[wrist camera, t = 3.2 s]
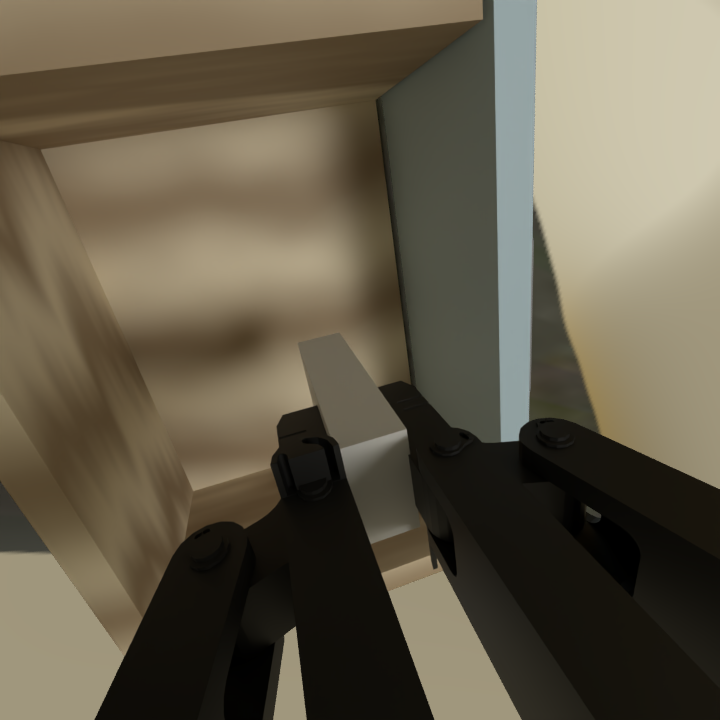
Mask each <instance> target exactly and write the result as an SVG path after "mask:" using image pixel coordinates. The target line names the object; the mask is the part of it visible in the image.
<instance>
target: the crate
mask: <svg viewBox="0 0 720 720" xmlns="http://www.w3.org/2000/svg"><path fill="white" fill-rule="evenodd" d="M481 20H483V0H0V481H1V483H2V484H3V485H4V487H5V488H6V490H7V491H8V493H9V494H10V495H11V497H12V498H13V500H14V501H15V502H16V504H17V505H18V507H19V508H20V510H21V511H22V512H23V514H24V515H25V517H26V518H27V519H28V521H29V522H30V524H31V525H32V526H33V528H34V529H35V531H36V532H37V534H38V535H39V536H40V538H41V539H42V541H43V542H44V543H45V545H46V546H47V548H48V549H49V550H50V552H51V553H52V555H53V556H54V558H55V559H56V560H57V562H58V563H59V565H60V566H61V567H62V569H63V570H64V571H65V573H66V574H67V576H68V577H69V579H70V580H71V581H72V583H73V584H74V586H75V587H76V589H77V590H78V591H79V593H80V594H81V596H82V597H83V599H84V600H85V601H86V603H87V604H88V606H89V607H90V608H91V610H92V611H93V613H94V614H95V615H96V617H97V618H98V620H99V621H100V623H101V624H102V625H103V627H104V628H105V629H106V631H107V632H108V634H109V635H110V637H111V638H112V639H113V641H114V642H115V644H116V645H117V646H118V648H119V649H120V651H121V652H122V654H123V655H124V656H125V655H126V652H127V650H128V648H129V646H130V644H131V642H132V640H133V638H134V636H135V633H136V631H137V629H138V627H139V625H140V623H141V621H142V619H143V617H144V615H145V612H146V610H147V608H148V606H149V604H150V602H151V600H152V598H153V596H154V593H155V591H156V589H157V587H158V585H159V583H160V581H161V579H162V577H163V575H164V572H165V570H166V568H167V566H168V564H169V562H170V560H171V558H172V556H173V554H174V553H175V552H176V550H177V549H178V547H179V546H180V544H181V543H182V542H183V541H185V540H186V539H187V538H188V537H189V536H190V535H191V534H192V533H194V532H196V531H198V530H199V529H201V528H203V527H205V526H206V525H210V524H213V523H217V522H220V521H231V522H235V523H237V524H239V525H241V526H243V528H244V529H245V528H247V527H248V526H250V525H252V524H253V523H255V522H257V521H259V520H260V519H261V518H263V517H264V516H266V515H267V514H268V513H269V512H270V511H271V510H272V509H273V508H275V506H276V505H277V504H278V502H279V501H280V499H281V497H280V494H279V491H278V487H277V484H276V481H275V478H274V475H273V472H272V469H271V466H270V463H271V459H272V456H273V454H274V453H275V452H276V451H277V449H278V448H279V443H278V435H277V427H276V426H277V424H278V423H279V421H280V419H281V417H282V415H284V414H288V413H291V412H295V411H298V410H302V409H305V408H309V407H313V402H312V398H311V394H310V390H309V386H308V382H307V378H306V374H305V370H304V366H303V362H302V358H301V354H300V350H299V346H298V343H299V342H303V341H307V340H311V339H315V338H319V337H323V336H327V335H331V334H335V333H340V334H341V336H342V337H343V338H344V340H345V341H346V343H347V344H348V346H349V347H350V349H351V350H352V351H353V353H354V354H355V356H356V357H357V359H358V360H359V361H360V363H361V364H362V366H363V367H364V369H365V370H366V371H367V373H368V374H369V376H370V377H371V379H372V380H373V382H374V383H375V384H376V386H377V387H380V386H383V385H387V384H390V383H394V382H397V381H403V382H405V383H408V384H410V385H411V380H410V372H409V364H408V356H407V348H406V340H405V332H404V324H403V316H402V308H401V300H400V292H399V284H398V276H397V268H396V260H395V252H394V244H393V236H392V228H391V220H390V212H389V204H388V196H387V188H386V180H385V172H384V164H383V156H382V148H381V140H380V132H379V123H378V115H377V107H376V99H378V98H379V97H380V96H382V95H383V94H384V93H386V92H387V91H388V90H390V89H391V88H392V87H394V86H395V85H396V84H398V83H399V82H400V81H402V80H403V79H404V78H406V77H407V76H408V75H410V74H411V73H412V72H414V71H415V70H416V69H418V68H419V67H420V66H422V65H423V64H424V63H426V62H427V61H428V60H430V59H431V58H432V57H434V56H435V55H436V54H438V53H439V52H440V51H442V50H443V49H444V48H446V47H447V46H448V45H449V44H451V43H452V42H453V41H455V40H456V39H457V38H459V37H460V36H461V35H463V34H464V33H465V32H467V31H468V30H469V29H471V28H472V27H473V26H475V25H476V24H477V23H479V22H480V21H481ZM418 513H419V511H418ZM419 520H420V527H418V528H415V529H412V530H410V531H407V532H404V533H401V534H398V535H395V536H392V537H390V538H387V539H384V540H381V541H378V542H375V543H372V544H371V546H372V549H373V552H374V555H375V557H376V560H377V563H378V566H379V568H380V571H381V574H382V577H383V579H384V582H385V585H386V588H387V590H388V591H390V590H393V589H395V588H398V587H401V586H403V585H406V584H409V583H411V582H414V581H417V580H419V579H422V578H425V577H427V576H430V575H433V574H435V573H438V572H441V571H443V569H442V567H441V565H440V563H439V561H438V559H437V564H438V568H437V569H434V570H433V566H432V562H431V557H430V549H429V542H428V534H427V526H426V524H425V522H424V520H423V518H422V516H421V514H420V513H419Z"/></svg>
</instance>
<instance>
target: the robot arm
mask: <svg viewBox="0 0 720 720" xmlns="http://www.w3.org/2000/svg"><path fill="white" fill-rule="evenodd" d="M298 346H299V350H300V354H301V358H302V362H303V366H304V370H305V374H306V378H307V382H308V386H309V390H310V394H311V398H312V402H313V407H309V408H305V409H302V410H298V411H295V412H291V413H288V414H284V415H282V417H281V419H280V421H279V423H278V424H277V426H276V427H277V435H278V443H279V448H278V449H277V451H276V452H275V453H274V454H273V456H272V459H271V463H270V466H271V469H272V472H273V475H274V478H275V481H276V484H277V487H278V491H279V494H280V497H281V499H280V501H279V502H278V504H277V505H276V506H275V508H273V509H272V510H271V511H270V512H269V513H268V514H267V515H266V516H264V517H263V518H261V519H260V520H259V521H257V522H255V523H253V524H252V525H250V526H248V527H247V528H245V529H244V528H243V526H241V525H239V524H237V523H235V522H231V521H220V522H217V523H213V524H210V525H206V526H205V527H203V528H201V529H199V530H198V531H196V532H194V533H192V534H191V535H190V536H189V537H188V538H187V539H186V540H185V541H183V542H182V543H181V544H180V546H179V547H178V549H177V550H176V552H175V553H174V554H173V556H172V558H171V560H170V562H169V564H168V566H167V568H166V570H165V572H164V575H163V577H162V579H161V581H160V583H159V585H158V587H157V589H156V591H155V593H154V596H153V598H152V600H151V602H150V604H149V606H148V608H147V610H146V612H145V615H144V617H143V619H142V621H141V623H140V625H139V627H138V629H137V631H136V633H135V636H134V638H133V640H132V642H131V644H130V646H129V648H128V650H127V652H126V655H125V657H124V659H123V661H122V663H121V665H120V667H119V669H118V671H117V673H116V676H115V678H114V680H113V682H112V684H111V686H110V688H109V690H108V692H107V695H106V697H105V699H104V701H103V703H102V705H101V707H100V709H99V711H98V714H97V716H96V718H95V720H273V716H274V709H275V702H276V695H277V688H278V681H279V674H280V667H281V660H282V653H283V646H284V635H285V634H286V633H287V632H288V631H290V630H291V629H293V628H294V627H295V626H296V630H297V639H298V648H299V657H300V665H301V673H302V681H303V691H304V699H305V708H306V717H307V720H434V717H433V715H432V712H431V709H430V706H429V704H428V701H427V698H426V695H425V693H424V690H423V687H422V684H421V682H420V679H419V676H418V673H417V671H416V668H415V665H414V662H413V659H412V657H411V654H410V651H409V648H408V646H407V643H406V640H405V637H404V635H403V632H402V629H401V627H400V624H399V621H398V618H397V615H396V613H395V610H394V607H393V604H392V602H391V599H390V596H389V593H388V590H387V588H386V585H385V582H384V579H383V577H382V574H381V571H380V568H379V566H378V563H377V560H376V557H375V555H374V552H373V549H372V546H371V544H372V543H375V542H378V541H381V540H384V539H387V538H390V537H392V536H395V535H398V534H401V533H404V532H407V531H410V530H412V529H415V528H418V527H420V520H419V513H420V514H421V516H422V518H423V520H424V522H425V524H426V526H427V534H428V542H429V549H430V557H431V562H432V566H433V570H434V569H437V568H438V564H437V559H438V561H439V563H440V565H441V567H442V569H443V571H444V573H445V575H446V576H447V578H448V580H449V582H450V584H451V586H452V588H453V590H454V592H455V593H456V595H457V597H458V599H459V601H460V603H461V605H462V607H463V609H464V611H465V613H466V615H467V616H468V618H469V620H470V622H471V624H472V626H473V628H474V630H475V632H476V634H477V635H478V637H479V639H480V641H481V643H482V645H483V647H484V649H485V650H486V652H487V654H488V656H489V658H490V660H491V662H492V664H493V666H494V668H495V670H496V672H497V673H498V675H499V677H500V679H501V681H502V683H503V685H504V687H505V689H506V690H507V692H508V694H509V696H510V698H511V700H512V702H513V704H514V706H515V708H516V710H517V711H518V713H519V715H520V717H521V719H522V720H720V489H718V488H716V487H713V486H711V485H709V484H707V483H705V482H703V481H700V480H698V479H696V478H694V477H692V476H689V475H687V474H685V473H683V472H681V471H679V470H676V469H674V468H672V467H670V466H667V465H665V464H663V463H661V462H659V461H657V460H655V459H652V458H650V457H648V456H646V455H644V454H642V453H639V452H637V451H635V450H633V449H631V448H628V447H626V446H624V445H622V444H620V443H618V442H615V441H613V440H611V439H609V438H607V437H604V436H602V435H600V434H598V433H596V432H594V431H591V430H589V429H587V428H585V427H583V426H580V425H578V424H576V423H573V422H570V421H567V420H564V419H556V418H541V419H535V420H532V421H530V422H527V423H526V424H525V425H523V426H522V427H521V428H520V432H519V441H509V442H497V443H484V442H481V441H480V440H479V439H478V437H477V436H475V435H474V434H472V433H471V432H469V431H467V430H464V429H460V428H454V427H450V425H449V424H448V423H447V422H446V421H445V420H444V419H443V418H442V417H441V415H440V414H439V413H438V412H437V411H436V410H435V409H434V408H433V407H432V405H431V404H429V403H428V401H427V400H426V399H425V398H424V397H422V394H421V393H420V392H419V391H418V390H417V389H416V388H415V387H414V386H413V385H410V384H408V383H405V382H403V381H397V382H394V383H390V384H387V385H383V386H380V387H377V386H376V384H375V383H374V382H373V380H372V379H371V377H370V376H369V374H368V373H367V371H366V370H365V369H364V367H363V366H362V364H361V363H360V361H359V360H358V359H357V357H356V356H355V354H354V353H353V351H352V350H351V349H350V347H349V346H348V344H347V343H346V341H345V340H344V338H343V337H342V336H341V334H340V333H335V334H331V335H327V336H323V337H319V338H315V339H311V340H307V341H303V342H299V343H298ZM587 506H589V507H590V508H592V509H593V510H595V511H596V512H598V513H600V514H601V518H597V517H595V516H593V515H591V514H589V513H587V512H586V507H587ZM418 511H419V513H418Z"/></svg>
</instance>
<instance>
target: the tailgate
mask: <svg viewBox="0 0 720 720" xmlns="http://www.w3.org/2000/svg"><path fill="white" fill-rule="evenodd" d="M536 15H537V0H483V20H481V21H480V22H479V23H477V24H476V25H475V26H473V27H472V28H471V29H469V30H468V31H467V32H465V33H464V34H463V35H461V36H460V37H459V38H457V39H456V40H455V41H453V42H452V43H451V44H449V45H448V46H447V47H446V48H444V49H443V50H442V51H440V52H439V53H438V54H436V55H435V56H434V57H432V58H431V59H430V60H428V61H427V62H426V63H424V64H423V65H422V66H420V67H419V68H418V69H416V70H415V71H414V72H412V73H411V74H410V75H408V76H407V77H406V78H404V79H403V80H402V81H400V82H399V83H398V84H396V85H395V86H394V87H392V88H391V89H390V90H388V91H387V92H386V93H384V94H383V95H382V104H383V113H384V121H385V130H386V138H387V146H388V155H389V163H390V172H391V180H392V188H393V197H394V205H395V214H396V222H397V230H398V239H399V247H400V256H401V264H402V272H403V281H404V289H405V298H406V306H407V314H408V323H409V331H410V340H411V348H412V357H413V365H414V373H415V382H416V389H417V390H418V391H419V392H420V393H421V394H422V397H424V398H425V399H426V400H427V401H428V403H429V404H431V405H432V407H433V408H434V409H435V410H436V411H437V412H438V413H439V414H440V415H441V417H442V418H443V419H444V420H445V421H446V422H447V423H448V424H449V425H450V427H454V428H460V429H464V430H467V431H469V432H471V433H472V434H474V435H475V436H477V437H478V439H479V440H480V441H481V442H484V443H497V442H509V441H519V432H520V428H521V427H522V426H523V425H525V424H526V423H527V422H529V391H531V345H532V297H533V249H534V239H533V238H532V226H533V173H534V122H535V121H534V120H535V118H534V117H535V69H536V67H535V66H536V64H535V63H536V18H537V16H536Z"/></svg>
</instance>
